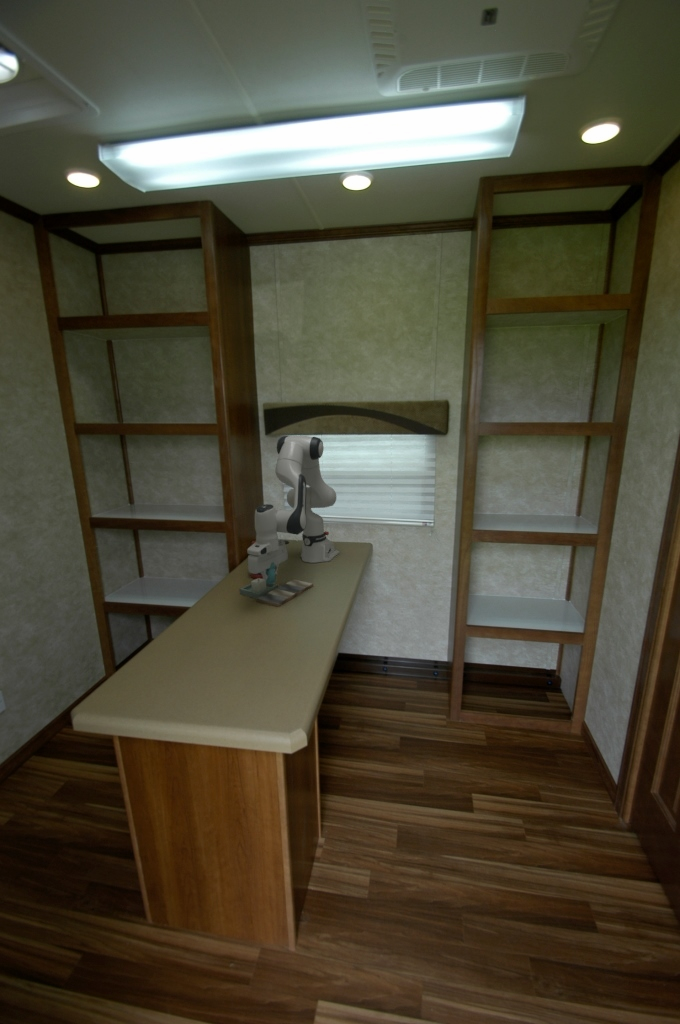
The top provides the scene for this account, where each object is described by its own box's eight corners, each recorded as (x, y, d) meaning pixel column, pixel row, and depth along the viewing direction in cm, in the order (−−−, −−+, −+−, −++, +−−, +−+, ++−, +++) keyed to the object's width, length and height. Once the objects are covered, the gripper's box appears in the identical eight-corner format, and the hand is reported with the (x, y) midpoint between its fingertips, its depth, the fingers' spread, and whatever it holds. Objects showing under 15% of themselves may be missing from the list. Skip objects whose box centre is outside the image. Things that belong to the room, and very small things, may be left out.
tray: (258, 584, 197) (258, 579, 197) (278, 589, 191) (278, 584, 190) (239, 594, 188) (239, 588, 187) (259, 599, 181) (259, 594, 181)
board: (292, 581, 199) (292, 578, 199) (313, 586, 193) (313, 583, 192) (256, 601, 180) (256, 598, 179) (278, 607, 173) (277, 604, 173)
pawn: (270, 579, 180) (268, 557, 177) (278, 580, 177) (276, 558, 175) (263, 582, 176) (261, 560, 174) (271, 584, 174) (269, 562, 172)
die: (259, 587, 192) (258, 577, 191) (266, 589, 190) (265, 579, 189) (252, 590, 189) (251, 581, 188) (259, 593, 186) (258, 583, 185)
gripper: (278, 537, 183) (280, 567, 186) (244, 550, 167) (247, 584, 170) (290, 539, 180) (292, 570, 183) (255, 553, 163) (258, 586, 166)
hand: (270, 577), depth 176 cm, fingers closed on pawn, 4 cm apart
